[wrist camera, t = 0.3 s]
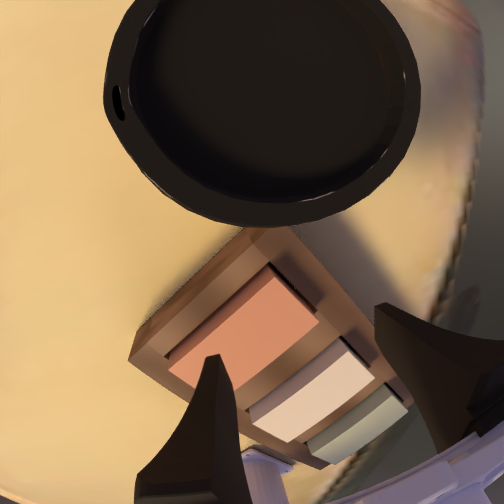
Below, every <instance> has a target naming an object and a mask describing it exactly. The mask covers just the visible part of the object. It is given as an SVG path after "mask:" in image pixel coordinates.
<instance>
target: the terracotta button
mask: <svg viewBox="0 0 504 504" xmlns="http://www.w3.org/2000/svg"><path fill="white" fill-rule="evenodd" d="M318 323H319V321H318V319H317V318H316V316H315V315H314V313H313V312H312V310H311V309H310V308H309V306H308V305H307V303H306V302H305V300H304V299H303V297H302V296H301V295H300V294H299V293H298V292H297V291H296V290H295V289H294V288H293V287H292V285H291V284H290V283H289V282H288V281H287V280H286V279H285V278H284V277H283V276H282V275H281V274H280V273H279V272H278V271H277V270H276V269H275V268H274V267H273V266H272V265H271V264H270V263H269V262H268V263H267V264H266V265H265V266H264V267H262V268H261V269H260V270H259V271H258V272H257V273H256V274H255V275H254V276H253V277H252V278H250V279H249V280H248V281H247V282H246V283H245V284H244V285H243V286H242V287H241V288H239V289H238V290H237V291H236V292H235V293H234V294H233V295H232V296H231V297H229V298H228V299H227V300H226V301H225V302H224V303H223V304H222V305H221V306H219V307H218V308H217V309H216V310H215V311H214V312H213V313H212V314H211V315H209V316H208V317H207V318H206V319H205V320H204V321H203V322H202V323H201V324H199V325H198V326H197V327H196V328H195V329H194V330H193V331H192V332H190V333H189V334H188V335H187V336H186V337H185V338H184V339H183V340H181V341H180V342H179V343H178V344H177V345H176V346H175V347H174V348H172V349H171V350H170V357H169V366H168V370H169V371H170V372H172V373H173V374H174V375H176V376H177V377H179V378H180V379H181V380H183V381H184V382H186V383H187V384H189V385H190V386H192V387H193V388H196V386H197V383H198V380H199V377H200V374H201V371H202V368H203V364H204V360H205V358H206V357H207V356H211V355H215V354H220V355H221V358H222V360H223V363H224V365H225V368H226V370H227V372H228V375H229V377H230V380H231V382H232V385H233V390H234V391H235V390H236V389H238V388H239V387H240V386H241V385H243V384H244V383H245V382H247V381H248V380H249V379H251V378H252V377H253V376H255V375H256V374H257V373H258V372H260V371H261V370H262V369H264V368H265V367H266V366H267V365H269V364H270V363H271V362H272V361H274V360H275V359H276V358H277V357H279V356H280V355H281V354H282V353H283V352H285V351H286V350H287V349H288V348H290V347H291V346H292V345H293V344H294V343H296V342H297V341H298V340H299V339H300V338H302V337H303V336H304V335H305V334H306V333H307V332H309V331H310V330H311V329H312V328H313V327H314V326H315V325H317V324H318Z"/></svg>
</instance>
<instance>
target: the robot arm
mask: <svg viewBox="0 0 504 504" xmlns="http://www.w3.org/2000/svg"><path fill="white" fill-rule="evenodd" d="M374 312H375V327H374V340H375V341H376V343H377V345H378V347H379V349H380V351H381V353H382V354H383V356H384V358H385V359H386V360H387V362H388V363H389V364H390V366H391V367H392V369H393V370H394V371H395V373H396V374H397V375H398V377H399V378H400V379H401V381H402V382H403V384H404V385H405V386H406V388H407V389H408V391H409V392H410V394H411V396H412V397H413V399H414V401H415V403H416V405H417V407H418V409H419V411H420V413H421V415H422V417H423V419H424V421H425V423H426V425H427V428H428V430H429V432H430V435H431V437H432V439H433V442H434V445H435V447H436V450H437V453H438V455H436V456H435V457H433V458H431V459H429V460H428V461H426V462H424V463H422V464H420V465H418V466H416V467H414V468H412V469H410V470H408V471H406V472H404V473H402V474H400V475H398V476H396V477H394V478H392V479H389V480H387V481H385V482H382V483H380V484H378V485H375V486H373V487H371V488H368V489H366V490H363V491H361V492H358V493H355V494H353V495H350V496H347V497H344V498H341V499H338V500H335V501H332V502H329V503H326V504H491V502H490V501H489V499H488V497H487V496H486V494H485V492H484V491H483V489H484V488H486V487H487V486H488V485H490V484H491V483H492V482H493V481H495V480H496V479H497V478H498V477H499V476H501V475H502V474H503V473H504V340H490V339H481V338H475V337H471V336H466V335H462V334H458V333H455V332H452V331H448V330H445V329H442V328H440V327H437V326H435V325H432V324H430V323H428V322H425V321H423V320H421V319H419V318H417V317H415V316H413V315H411V314H409V313H407V312H405V311H403V310H401V309H399V308H397V307H395V306H393V305H391V304H389V303H387V302H385V303H382V304H379V305H377V306H374ZM292 470H293V466H291V465H289V464H287V463H284V462H282V461H280V460H277V459H275V458H273V457H271V456H268V455H266V454H264V453H262V452H260V451H258V450H255V449H248V450H247V451H245V452H243V453H241V450H240V442H239V431H238V418H237V406H236V400H235V394H234V390H233V385H232V382H231V380H230V377H229V375H228V372H227V370H226V368H225V365H224V363H223V360H222V358H221V355H220V354H215V355H211V356H207V357H206V358H205V360H204V364H203V368H202V371H201V374H200V377H199V380H198V383H197V386H196V388H195V391H194V394H193V396H192V398H191V401H190V403H189V405H188V407H187V410H186V412H185V414H184V415H183V417H182V419H181V421H180V423H179V424H178V426H177V428H176V429H175V431H174V432H173V434H172V435H171V437H170V438H169V440H168V441H167V442H166V444H165V445H164V446H163V448H162V449H161V450H160V451H159V452H158V454H157V455H156V456H155V457H154V458H153V459H152V460H151V461H150V462H149V463H148V464H147V465H146V466H145V467H144V468H143V469H142V470H141V471H140V472H139V473H138V474H137V478H136V482H135V491H134V504H289V502H288V498H287V495H286V491H285V488H284V484H283V481H282V477H281V476H283V475H285V474H287V473H288V472H290V471H292Z"/></svg>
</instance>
